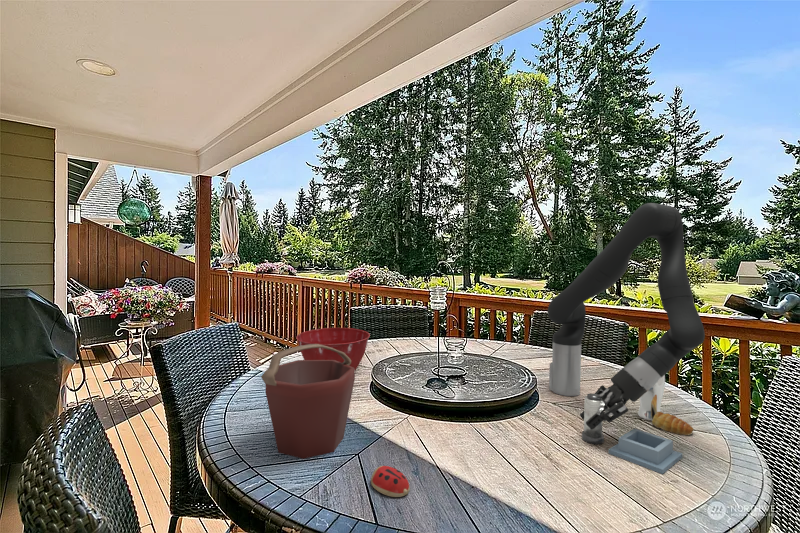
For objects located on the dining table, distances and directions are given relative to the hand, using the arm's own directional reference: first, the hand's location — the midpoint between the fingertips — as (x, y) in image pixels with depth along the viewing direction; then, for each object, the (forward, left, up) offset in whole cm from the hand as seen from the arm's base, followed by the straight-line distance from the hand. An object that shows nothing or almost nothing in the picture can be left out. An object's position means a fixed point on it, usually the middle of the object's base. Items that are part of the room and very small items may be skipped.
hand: (585, 422), depth 111 cm
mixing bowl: (-91, -24, -5) cm, 94 cm away
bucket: (-44, -58, -5) cm, 72 cm away
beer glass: (+4, +29, -5) cm, 30 cm away
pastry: (+11, +26, -5) cm, 28 cm away
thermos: (+1, +1, -5) cm, 5 cm away
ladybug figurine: (-14, -53, -5) cm, 56 cm away
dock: (+13, +3, -5) cm, 15 cm away
